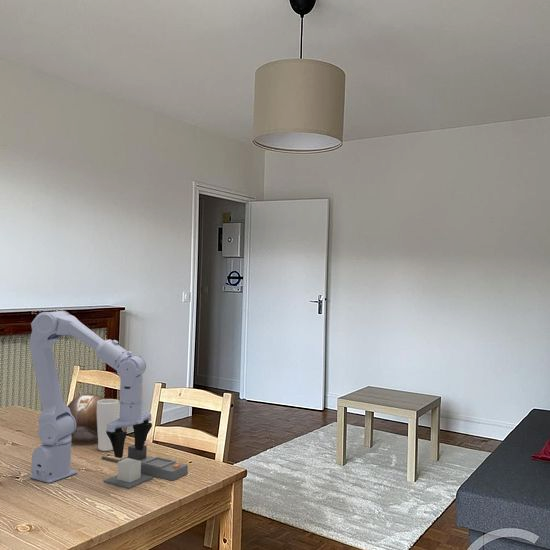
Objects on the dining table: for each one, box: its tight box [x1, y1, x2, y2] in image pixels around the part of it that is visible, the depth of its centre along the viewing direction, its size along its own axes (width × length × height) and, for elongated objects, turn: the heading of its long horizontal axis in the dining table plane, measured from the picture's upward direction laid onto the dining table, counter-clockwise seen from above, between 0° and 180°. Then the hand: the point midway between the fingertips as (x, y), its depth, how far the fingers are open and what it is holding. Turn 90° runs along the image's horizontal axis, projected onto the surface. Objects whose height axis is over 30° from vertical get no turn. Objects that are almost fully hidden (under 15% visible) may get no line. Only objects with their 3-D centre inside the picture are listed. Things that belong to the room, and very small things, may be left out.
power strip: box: [101, 443, 189, 482], centre depth 157 cm, size 6×29×6 cm, turn 61°
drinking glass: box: [97, 398, 120, 452], centre depth 174 cm, size 7×7×15 cm
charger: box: [116, 458, 142, 482], centre depth 147 cm, size 4×4×4 cm
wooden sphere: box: [67, 393, 105, 442], centre depth 183 cm, size 15×15×15 cm
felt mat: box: [103, 473, 154, 490], centre depth 147 cm, size 9×9×1 cm
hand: (128, 453), depth 147 cm, fingers open, 7 cm apart
